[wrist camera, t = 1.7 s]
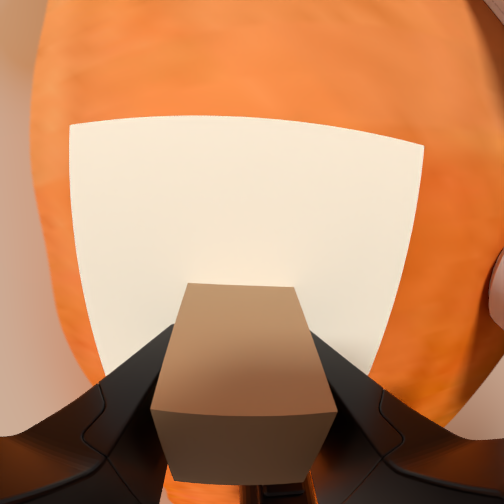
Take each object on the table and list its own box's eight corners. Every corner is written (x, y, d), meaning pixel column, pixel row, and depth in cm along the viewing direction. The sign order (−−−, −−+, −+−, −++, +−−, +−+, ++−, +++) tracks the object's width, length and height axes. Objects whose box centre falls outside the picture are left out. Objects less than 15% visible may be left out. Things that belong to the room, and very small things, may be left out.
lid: (339, 416, 12) (368, 508, 7) (127, 411, 11) (100, 505, 6) (410, 144, 8) (548, 168, 3) (83, 125, 7) (-56, 131, 2)
